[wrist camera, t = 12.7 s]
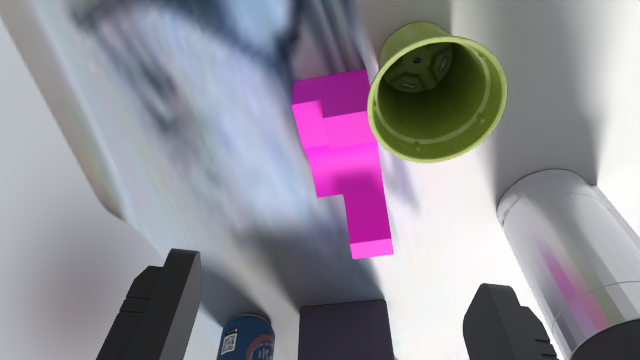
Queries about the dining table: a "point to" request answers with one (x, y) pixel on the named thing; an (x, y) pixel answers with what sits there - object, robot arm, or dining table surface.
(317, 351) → the dark grey box
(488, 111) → the plant pot
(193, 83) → the dining table surface
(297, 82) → the toy block
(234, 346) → the soda can
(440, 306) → the dining table surface
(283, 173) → the dining table surface
